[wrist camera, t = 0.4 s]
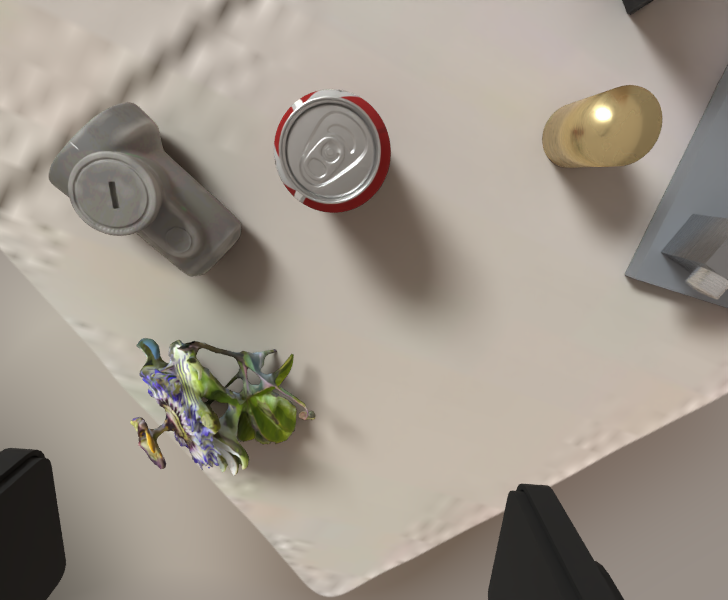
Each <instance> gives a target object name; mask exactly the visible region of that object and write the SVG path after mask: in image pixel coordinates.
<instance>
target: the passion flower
mask: <svg viewBox="0 0 728 600" xmlns="http://www.w3.org/2000/svg"><path fill="white" fill-rule="evenodd" d="M137 347H138V348H140V349H141V350H142V351H143V352H144V353H145V355H146V356H147V360H146V363H145V365H144V366H143V368H142V369H141V371H140V376H141V377H143V381H144V382H145V383H147V384H148V386H149V389H148V393H149V394H150V396H151V397H154V398H155V399H156V401H157V403H159V405H160V406H161V407H163V408H164V409H165V411H166V419H165V422H164V423H163V424H162V425H161V426H159V427H158V428H157V429H148V426H147V424H146V422H145V420H144V419H143V418H141V417H138V418H133V420H131V424H132V425H133V426H134V427H135V430H136V431H137V432H138V437H139V444H138V446H140V447H141V448H142V449H143V450H144V451H145V452H146V453H147V455H148V457H149V458H150V460H151V461H152V462H153V463H154V464H155V465H157V466H158V467H159V468H160V469H164V468H165V467H166V462H165V459H164V457H163V455H162V453H161V451H160V448H159V446H158V444H157V438H158V436H159V435H161V434H162V433H163V432H164V431H173V432H174V434H175V438H176V441H178V442H179V444H180V446H186V447H187V448H189V451H190V453H191V455H192V459H193V460H194V462H195V463H199V465H200V468H201V469H202V466H203V465H204V464H205V466H207V464H209V465H210V466H211V467H213V463H214V464H215V465H216V466H219V467H220V469H221V471H222V472H224V471H225V470H226V467H227V466H229V468H230V470H231V472H232V474H233V475H234V476H235V475H236V474H237V473H238V468H239V464H241V466H242V469H243V470H244V469H246V468H247V466H248V461H249V457H248V454H247V453H246V451H245V449H244V448H243V447H242V446H241V445H240V444H239V443H238V441H240V442H241V441H243V442H244V441H247V440H252V439H254V438H255V440H256V441H258V442H260V443H262V444H270V443H271V442H275V444H277V443H281V442H283V441H286V440H287V439H288V437H289V436H290V435H291V434H292V432H293V431H295V425H296V412H297V409H296V407H295V406H294V405H293V404H292V403H291V402H290V401H289V400H287V399H286V398H284V397H282V396H280V395H278V394H277V393H274V392H273V390H274V389H275V388H276V389H277V390H279V391H281V392H282V393H283V394H284V395H286V396H288V397H290V398H291V399H293V400H294V401H295V402H296V403H298V404H300V405H301V406H303V407H304V408H305V409H306V411H301V412H300V413H299V415H298V416H299V418H301V419H303V420H308V419H311V420H312V419H315V413H314V412H313V411H310V412H309V413H308V410H307V408H306V406H305V404H304V403H303V402H301V401H300V400H299V399H298V398H296V397H294V396H293V395H292V394H291V393H289V392H287V391H286V390H284V389H283V388H281V387H279V385H280V384H281V383H282V381H283V380H284V379H285V378H286V377H287V375H288V374H289V372H290V370H291V367H292V364H293V356H294V355H293V354H291V355H290V357H289V358H288V359H287V361H286V362H285V363H284V364H283V365H282V367H281V368H280V369H278V370H277V371H276V372H274V373H271V374H268V375H267V374H263V373H262V372H261V368H262V367H263V366H264V359H265V357H266V356H267V355H268V354H270V353H274V352H277V351H276V350H275V349H274V350H267V351H263V352H256V353H250V352H245V351H242V352H239V353H234V352H231V351H227V350H223V349H219V348H216V347H213V346H210V345H208V344H206V343H200V342H196V341H193V342H190V343H185V344H183V343H182V342H181V341H180V340H177V341H175V342H173V343H172V344H171V345H170V347H169V357H170V363H166V362H164V361H163V360H162V358H161V356H160V350H159V346H158V344H157V343H156V342H155V341H154V340H152V339H148V338H143V339H141V340H140V341H139V343H138V344H137ZM201 348H205V349H208V350H210V351H212V352H215V353H221V354H224V355H228V356H232V357H234V358H235V359H236V360H237V362H238V364H239V367H240V369H239V372H238V373H237V374H236V375H235V376H234V377H233V378H232V379H231V380H230V381H229V383H228V384H227V385H226V386H225V387H223V386H222V385H221V384H220V382H219V381H218V380H217V379H216V378H215V377H214V376H213V375H212V374H211V373H210V371H209V369H207V368H205V367H203V366H202V365H201V364H200V362H199V361H198V360H197V358H196V355H197V352H198V350H199V349H201ZM248 368H250V369H251V370H252V371H253V372H255V373H256V374H257V375H258V376H259V377H260V379H261V382H260V384H259V385H251V384H250V383H249V381H248V378H247V369H248ZM237 378H241V379H242V380H243V384H244V385H243V390H242V391H241V392H240V393H235V392H233V391H231V390H229V389H227V387H228V386H229V385H230V384H231V383H233V382H234V381H235V380H236V379H237ZM202 397H205V398H207V399H209V400H208V401H206V402H203V401H202V400H201V398H202ZM214 400H215V401H218V402H220V403H227V404H228V405H229V407H228V409H227V411H226V413H225V414H224V415H223V416H222V417H221V418H219V419H218V415H217V414H216V413H215V412H214V411H213V410H212V408H211V407H210V404H211V403H212V402H213V401H214ZM238 420H239V422H238ZM237 426H238V427H237ZM218 462H219V463H218ZM208 468H210V467H208ZM202 470H203V469H202Z"/></svg>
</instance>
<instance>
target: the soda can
mask: <svg viewBox="0 0 728 600" xmlns="http://www.w3.org/2000/svg"><path fill="white" fill-rule="evenodd" d="M390 157H391V148H390V140H389V136H388V132H387V129H386V127H385V125H384V123H383V121H382V119H381V117H380V116H379V114H378V113H377V112H376V110H375V109H374V108H373V107H372V106H371V105H370V104H369V103H367V102H366V101H365V100H363V99H362V98H360V97H359V96H357V95H355V94H352V93H350V92H347V91H342V90H336V89H326V90H320V91H316V92H313V93H310V94H308V95H306V96H304V97H302V98H300V99H299V100H298V101H296V102H295V103H294V104H293V105H292V106H291V107H290V108H289V109H288V110H287V112H286V113H285V115H284V116H283V118H282V120H281V121H280V124H279V126H278V129H277V132H276V136H275V141H274V158H275V164H276V168H277V171H278V174H279V176H280V178H281V180H282V182H283V184H284V185H285V187H286V188H287V189H288V191H289V192H290V193H291V194H292V195H293V196H294V197H295V198H296V199H297V200H299V201H300V202H301V203H303V204H304V205H306V206H308V207H310V208H313V209H315V210H319V211H323V212H330V213H337V212H344V211H348V210H352V209H354V208H357V207H359V206H360V205H362V204H364V203H365V202H367V201H368V200H369V199H370V198H371V197H372V196H373V195H374V194H375V193H376V192H377V191H378V190H379V188H380V187H381V185H382V183H383V182H384V180H385V177H386V175H387V172H388V169H389V164H390Z"/></svg>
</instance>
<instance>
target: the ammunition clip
mask: <svg viewBox="0 0 728 600" xmlns="http://www.w3.org/2000/svg"><path fill="white" fill-rule="evenodd" d="M622 1H623V4H624V6H625V9H626V12H627V14H630V15H631V14H633V13H634V12H636V11H637V10H639V9H641V8H642V7H644V6H645V5H647V4H648V3H650V2H652V1H653V0H622Z"/></svg>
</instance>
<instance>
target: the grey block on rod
mask: <svg viewBox="0 0 728 600" xmlns="http://www.w3.org/2000/svg"><path fill="white" fill-rule="evenodd" d="M661 253H663V254H664V255H666V256H667V257H669V258H670V259H671V260H673V261H674V262H676V263H677V264H679V265H680V266H681V267H683V268H684V269H686V270H687V271H688V272H690V273H691V275H690V276H689V277H688V278H687V279H686V280H685V283H686V284H687V285H689V286H690V287H692V288H693V289H695V290H697V291H698V292H700V293H702V294H704V295H706V296H708V297H711V298H714V299H719V297H720V296H721V295H722V294H723V293H724V292H725V291H726V290H727V289H728V218H721V217H713V216H705V215H697V214H692V215H691V216H690V217H689V219H688V220H687V221H686V222H685V223H684V225H683V226H682V227H681V228H680V229H679V231H678V232H677V233H676V234H675V235H674V237H673V238H672V239H671V240H670V241H669V243H668V244H667V245H666V246H665V247H664V249H663V250H662V251H661Z"/></svg>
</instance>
